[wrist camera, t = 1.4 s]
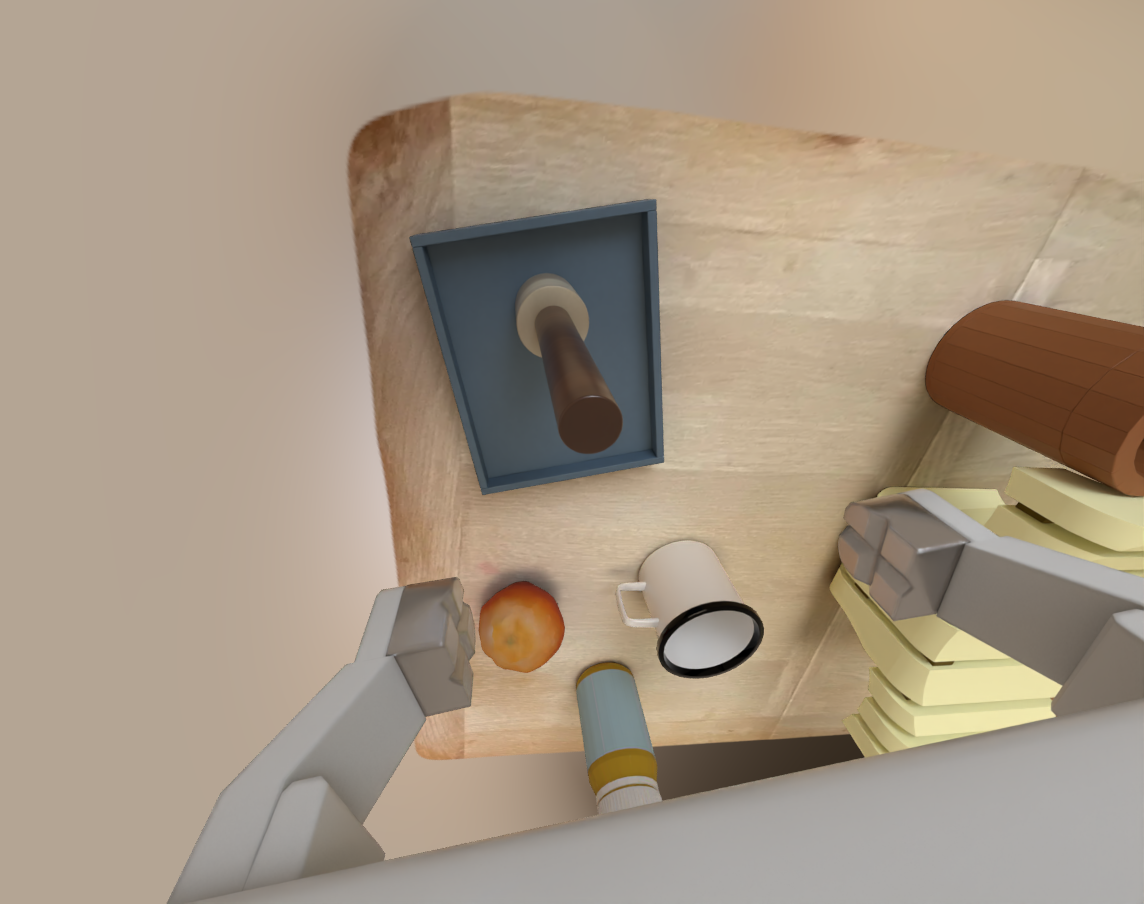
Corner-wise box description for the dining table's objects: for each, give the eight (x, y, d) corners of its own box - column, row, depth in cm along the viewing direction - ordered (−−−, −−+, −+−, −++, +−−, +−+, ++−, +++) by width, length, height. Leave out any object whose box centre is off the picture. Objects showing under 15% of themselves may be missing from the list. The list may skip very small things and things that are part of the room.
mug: (732, 534, 45) (780, 605, 37) (708, 601, 49) (746, 677, 42) (616, 533, 43) (640, 608, 35) (602, 603, 47) (621, 683, 40)
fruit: (533, 654, 48) (505, 702, 40) (488, 595, 48) (452, 631, 41) (590, 614, 46) (573, 656, 38) (543, 552, 46) (516, 582, 39)
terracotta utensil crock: (943, 310, 36) (1166, 367, 24) (1053, 291, 36) (1327, 338, 24) (913, 415, 40) (1086, 508, 28) (1010, 398, 41) (1222, 481, 29)
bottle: (609, 651, 51) (644, 803, 39) (643, 676, 55) (685, 824, 42) (563, 680, 53) (581, 836, 40) (598, 703, 56) (626, 854, 43)
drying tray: (414, 234, 29) (408, 237, 27) (647, 199, 29) (656, 199, 27) (483, 482, 38) (482, 495, 36) (657, 450, 39) (664, 462, 37)
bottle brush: (509, 278, 30) (512, 374, 14) (573, 268, 30) (653, 351, 14) (521, 342, 32) (536, 491, 16) (581, 332, 32) (658, 470, 16)
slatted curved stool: (900, 406, 40) (1147, 538, 24) (1046, 415, 42) (1353, 538, 27) (786, 634, 54) (897, 807, 39) (901, 630, 57) (1047, 791, 41)
